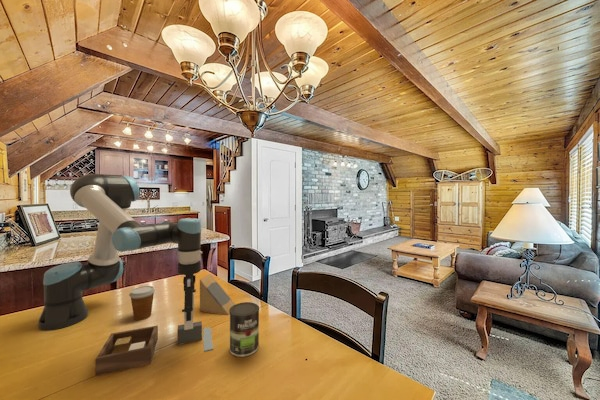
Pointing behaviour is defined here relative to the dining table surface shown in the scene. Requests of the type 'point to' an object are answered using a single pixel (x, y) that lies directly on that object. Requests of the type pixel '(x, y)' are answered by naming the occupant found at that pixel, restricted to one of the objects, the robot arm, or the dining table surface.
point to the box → (127, 359)
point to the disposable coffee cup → (142, 301)
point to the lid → (195, 335)
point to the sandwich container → (213, 297)
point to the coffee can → (244, 329)
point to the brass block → (122, 344)
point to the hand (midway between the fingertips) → (189, 319)
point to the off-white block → (137, 345)
